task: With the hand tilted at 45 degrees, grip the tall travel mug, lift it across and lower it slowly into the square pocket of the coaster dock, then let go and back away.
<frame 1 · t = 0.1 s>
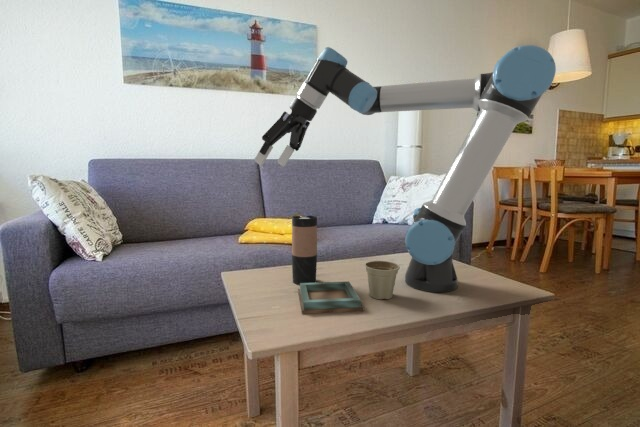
hand: (269, 163, 103), 36 cm above the table, tool tilted 35°, fingers open, 13 cm apart
coaster dock: (328, 300, 89), on the table
travel mug: (304, 282, 104), on the table
flower pot: (381, 296, 93), on the table
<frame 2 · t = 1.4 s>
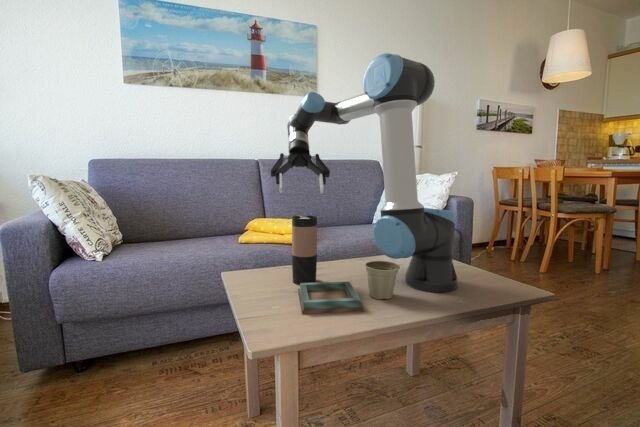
hand: (301, 190, 111), 27 cm above the table, tool tilted 45°, fingers open, 13 cm apart
nothing on the table moved.
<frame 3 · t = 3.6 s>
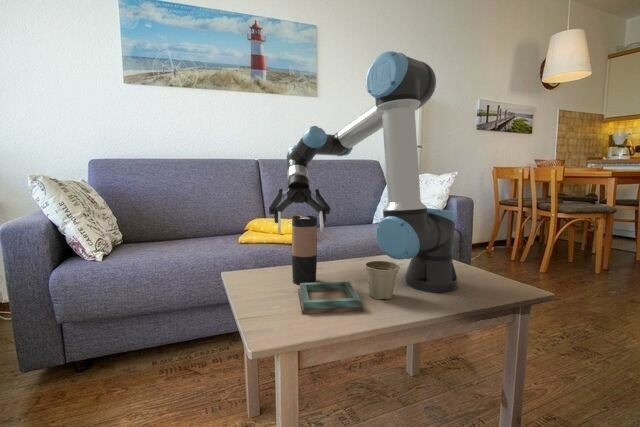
hand: (300, 230, 107), 15 cm above the table, tool tilted 45°, fingers open, 13 cm apart
nothing on the table moved.
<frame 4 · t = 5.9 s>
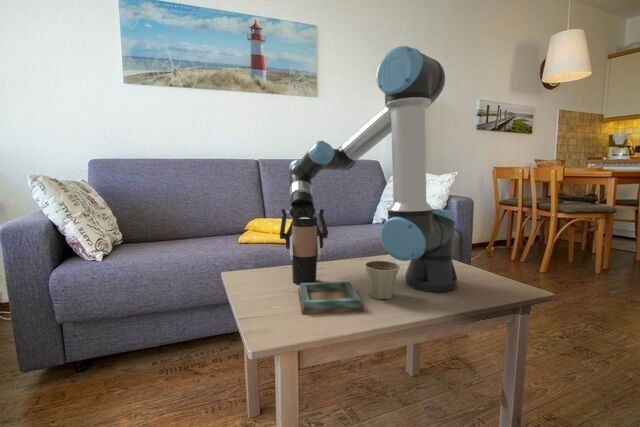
hand: (305, 257, 99), 9 cm above the table, tool tilted 45°, fingers closed on travel mug, 7 cm apart
travel mug: (304, 282, 104), on the table, touching gripper
everything else where it was.
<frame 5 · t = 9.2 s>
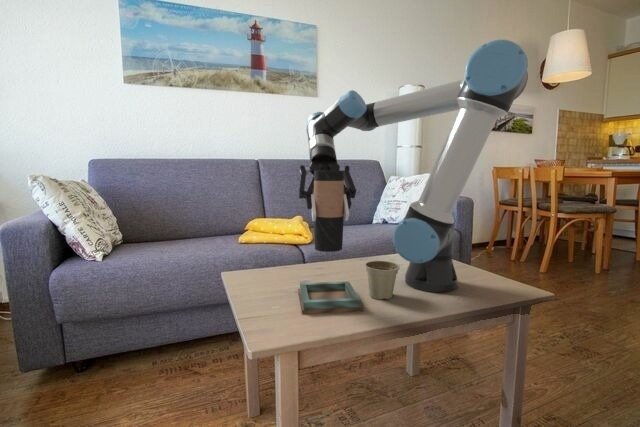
hand: (330, 217, 83), 22 cm above the table, tool tilted 45°, fingers closed on travel mug, 7 cm apart
travel mug: (328, 249, 87), point 14 cm above the table, touching gripper
everything else where it was.
when the fingers open (11 cm above the table, at t = 12.4 s): travel mug drops 1 cm, resting on coaster dock.
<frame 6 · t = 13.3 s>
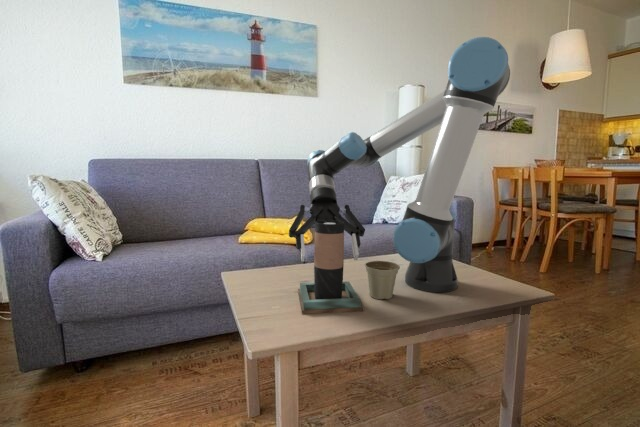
hand: (330, 258, 85), 12 cm above the table, tool tilted 45°, fingers open, 13 cm apart
travel mug: (328, 298, 89), point 1 cm above the table, touching coaster dock
everything else where it was.
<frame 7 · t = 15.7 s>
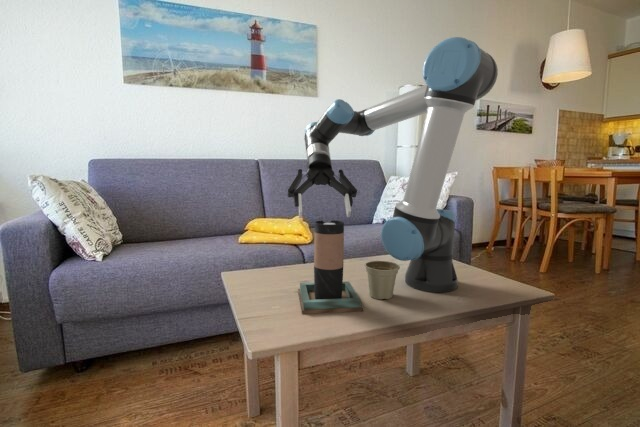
hand: (325, 214, 94), 22 cm above the table, tool tilted 45°, fingers open, 13 cm apart
nothing on the table moved.
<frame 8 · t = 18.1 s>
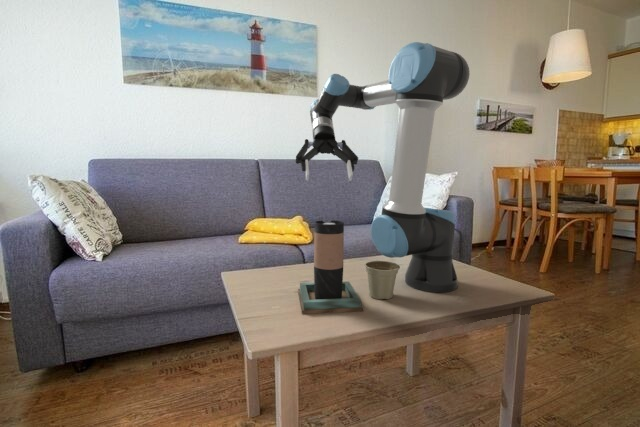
hand: (329, 177, 105), 32 cm above the table, tool tilted 45°, fingers open, 13 cm apart
nothing on the table moved.
at the end: travel mug 0.1 cm off-centre on the coaster dock, point 0.6 cm above the coaster dock's base; travel mug tilted 0°; the gripper is holding nothing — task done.
